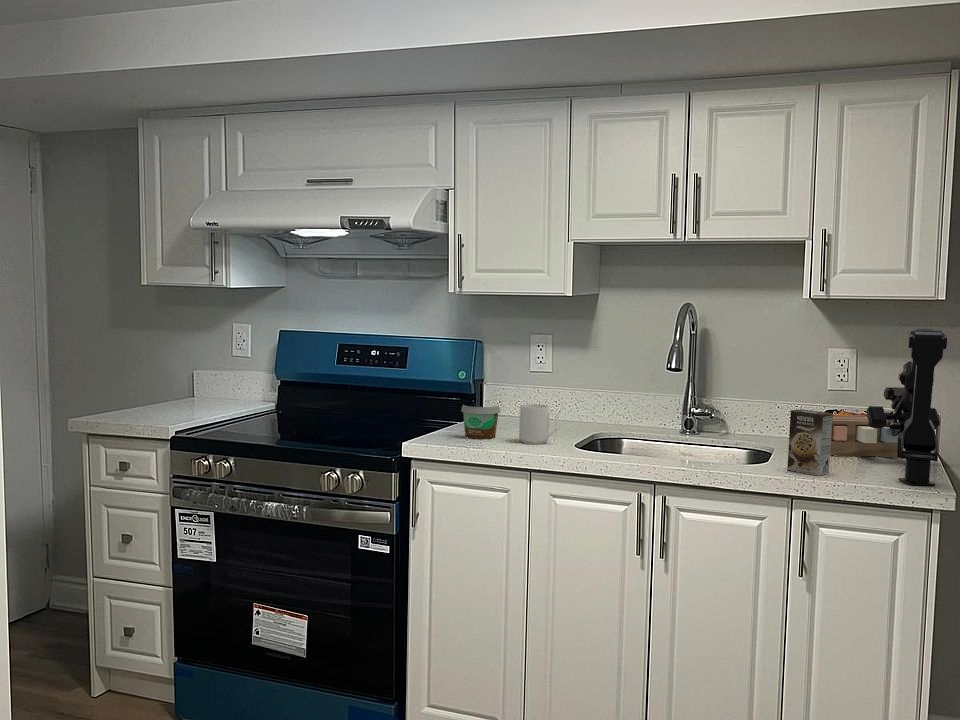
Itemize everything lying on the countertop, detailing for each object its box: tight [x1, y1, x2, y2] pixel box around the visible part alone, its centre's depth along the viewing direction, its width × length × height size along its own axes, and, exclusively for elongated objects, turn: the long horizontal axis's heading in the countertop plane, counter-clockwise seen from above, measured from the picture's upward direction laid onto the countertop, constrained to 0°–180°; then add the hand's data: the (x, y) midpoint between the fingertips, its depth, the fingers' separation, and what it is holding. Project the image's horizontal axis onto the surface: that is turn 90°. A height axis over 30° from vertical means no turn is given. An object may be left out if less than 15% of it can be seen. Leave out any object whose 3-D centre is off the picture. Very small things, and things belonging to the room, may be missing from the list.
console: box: [830, 414, 901, 458], centre depth 279 cm, size 12×22×10 cm, turn 91°
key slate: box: [879, 426, 898, 443], centre depth 273 cm, size 6×4×4 cm, turn 1°
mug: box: [518, 403, 560, 445], centre depth 284 cm, size 12×9×11 cm
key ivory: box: [856, 426, 877, 443], centre depth 271 cm, size 6×4×4 cm, turn 1°
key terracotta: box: [831, 424, 847, 441], centre depth 274 cm, size 6×4×4 cm, turn 1°
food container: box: [460, 403, 501, 440], centre depth 289 cm, size 12×6×10 cm, turn 80°
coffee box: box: [786, 409, 834, 477], centre depth 247 cm, size 9×6×16 cm
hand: (893, 435), depth 269 cm, fingers closed
